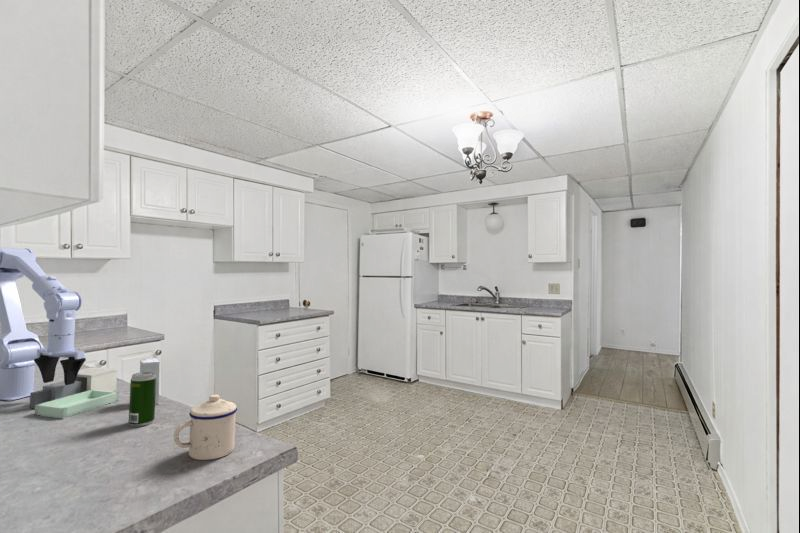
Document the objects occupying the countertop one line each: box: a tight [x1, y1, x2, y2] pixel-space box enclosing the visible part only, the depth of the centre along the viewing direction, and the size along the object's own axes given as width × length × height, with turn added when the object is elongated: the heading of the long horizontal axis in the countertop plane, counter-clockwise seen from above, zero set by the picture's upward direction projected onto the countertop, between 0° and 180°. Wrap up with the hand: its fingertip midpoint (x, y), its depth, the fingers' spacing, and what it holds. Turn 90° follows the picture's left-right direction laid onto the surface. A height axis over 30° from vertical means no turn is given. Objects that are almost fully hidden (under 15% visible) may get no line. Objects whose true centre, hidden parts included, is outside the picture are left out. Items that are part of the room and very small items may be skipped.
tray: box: [34, 389, 119, 420], centre depth 107 cm, size 9×15×2 cm, turn 168°
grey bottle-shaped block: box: [29, 380, 81, 409], centre depth 110 cm, size 4×11×5 cm, turn 168°
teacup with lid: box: [173, 394, 238, 461], centre depth 82 cm, size 12×9×12 cm
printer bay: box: [75, 366, 118, 392], centre depth 120 cm, size 10×8×6 cm
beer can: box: [128, 372, 156, 428], centre depth 97 cm, size 5×5×12 cm
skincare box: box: [139, 358, 160, 406], centre depth 112 cm, size 6×4×12 cm
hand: (59, 383), depth 111 cm, fingers open, 7 cm apart
